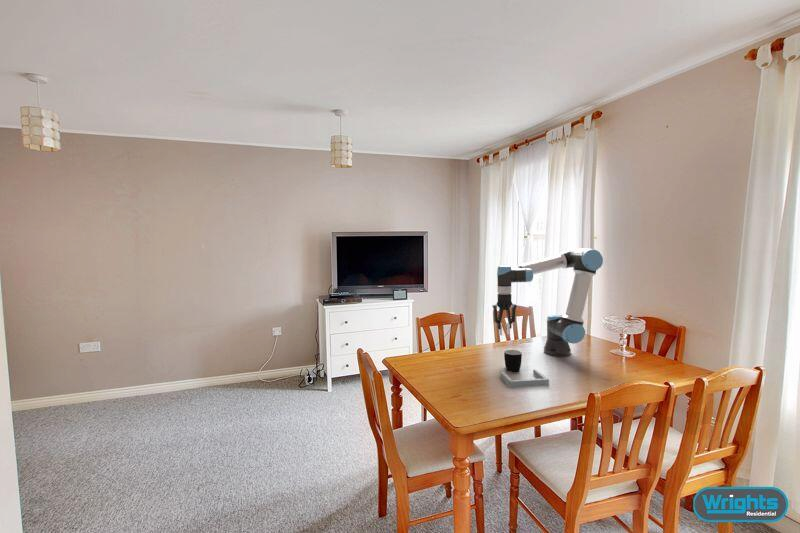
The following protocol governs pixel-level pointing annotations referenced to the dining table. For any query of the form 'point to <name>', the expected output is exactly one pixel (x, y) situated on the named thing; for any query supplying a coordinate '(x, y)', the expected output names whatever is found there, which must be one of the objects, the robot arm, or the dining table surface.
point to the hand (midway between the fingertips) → (504, 334)
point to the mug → (513, 360)
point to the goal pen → (539, 381)
